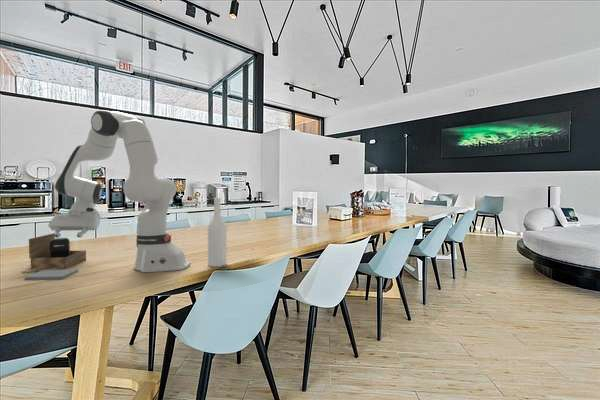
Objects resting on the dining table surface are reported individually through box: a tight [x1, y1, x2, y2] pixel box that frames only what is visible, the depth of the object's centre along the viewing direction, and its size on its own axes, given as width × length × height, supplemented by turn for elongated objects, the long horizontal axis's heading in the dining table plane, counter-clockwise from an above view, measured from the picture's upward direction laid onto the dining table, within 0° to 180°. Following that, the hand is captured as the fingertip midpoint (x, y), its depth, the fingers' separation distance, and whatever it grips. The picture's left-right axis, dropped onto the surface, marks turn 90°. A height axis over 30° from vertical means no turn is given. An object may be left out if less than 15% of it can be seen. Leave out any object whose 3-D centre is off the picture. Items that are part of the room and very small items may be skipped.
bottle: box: [207, 197, 227, 267], centre depth 139 cm, size 8×8×30 cm
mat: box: [24, 269, 79, 281], centre depth 120 cm, size 13×10×1 cm
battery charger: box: [50, 237, 71, 258], centre depth 136 cm, size 7×4×11 cm, turn 119°
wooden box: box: [21, 232, 87, 273], centre depth 134 cm, size 14×20×12 cm
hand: (67, 236), depth 142 cm, fingers open, 8 cm apart
